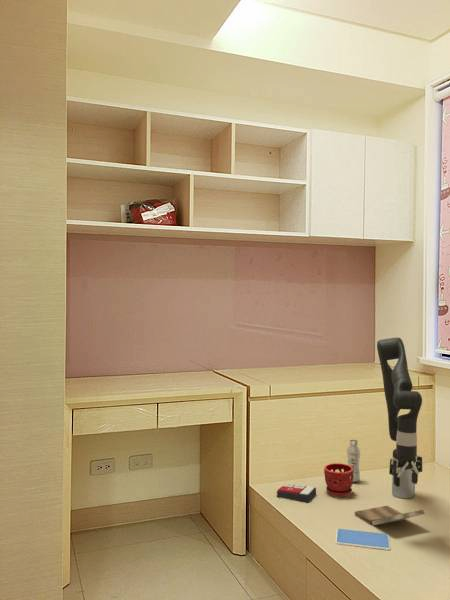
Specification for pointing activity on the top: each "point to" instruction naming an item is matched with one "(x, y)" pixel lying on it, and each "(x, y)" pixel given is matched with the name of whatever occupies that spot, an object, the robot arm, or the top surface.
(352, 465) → the plastic bottle
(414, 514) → the plank
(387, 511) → the laid board
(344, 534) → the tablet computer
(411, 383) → the robot arm
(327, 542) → the top surface
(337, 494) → the plant pot
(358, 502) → the top surface
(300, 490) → the multicoloured piece
